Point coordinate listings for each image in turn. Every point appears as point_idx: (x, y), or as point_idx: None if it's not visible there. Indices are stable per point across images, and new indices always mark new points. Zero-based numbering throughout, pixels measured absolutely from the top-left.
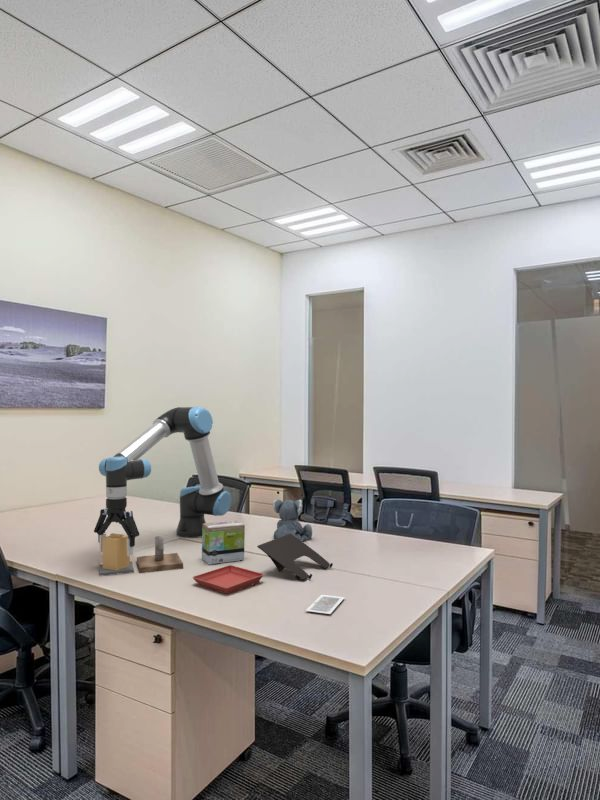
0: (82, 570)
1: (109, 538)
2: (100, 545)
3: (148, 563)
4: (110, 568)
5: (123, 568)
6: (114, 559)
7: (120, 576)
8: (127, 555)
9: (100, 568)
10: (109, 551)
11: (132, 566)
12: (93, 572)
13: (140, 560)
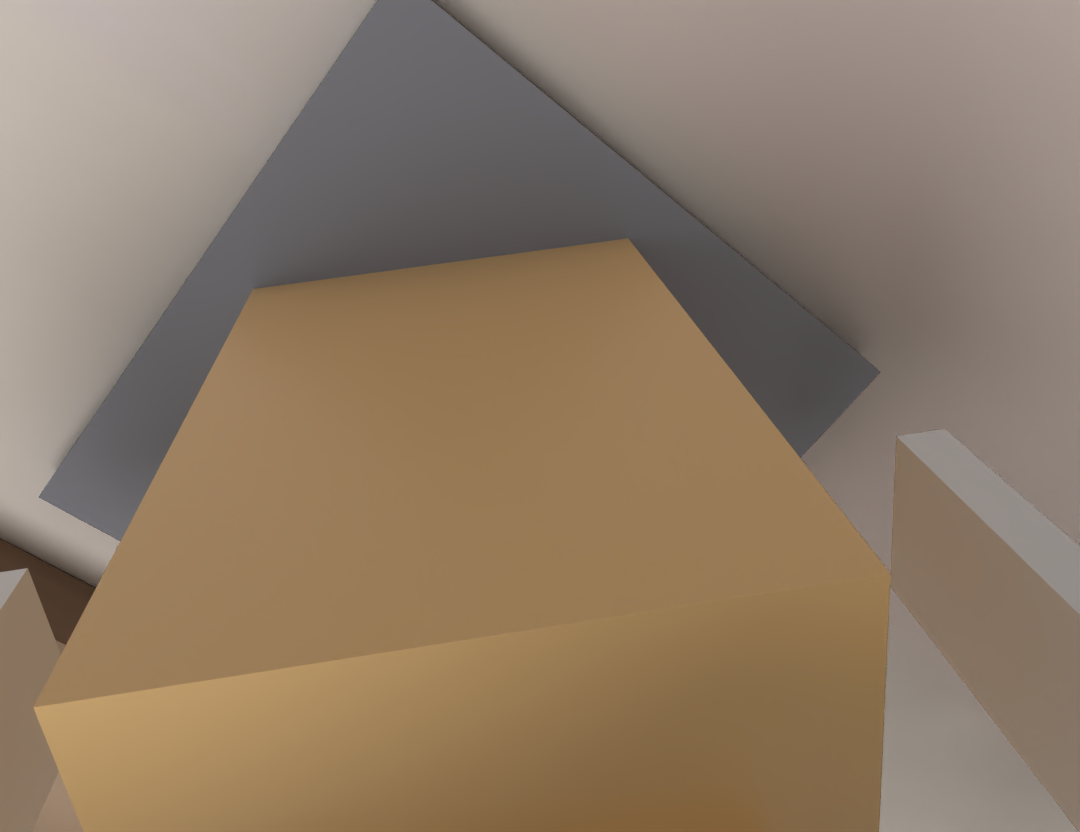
0: (1006, 52)
1: (532, 669)
2: (1001, 521)
3: None
4: (419, 273)
5: None
6: (290, 358)
7: (20, 182)
8: (5, 576)
9: (663, 216)
10: (458, 406)
11: None
12: (711, 77)
13: None
